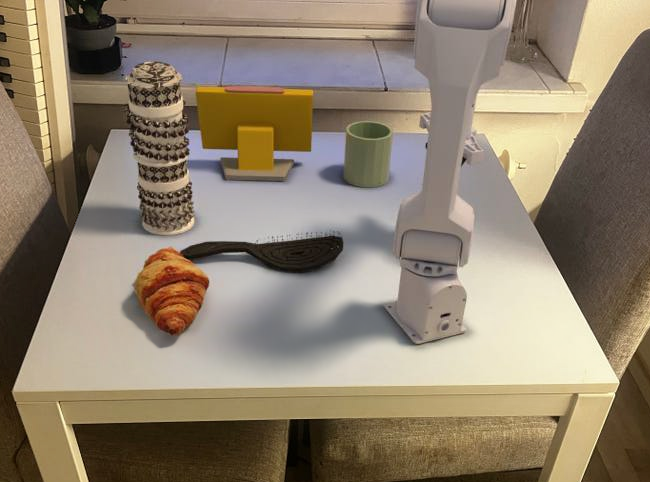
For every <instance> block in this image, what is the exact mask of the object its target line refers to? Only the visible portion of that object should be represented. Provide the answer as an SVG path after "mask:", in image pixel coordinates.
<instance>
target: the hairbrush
mask: <svg viewBox="0 0 650 482" xmlns="http://www.w3.org/2000/svg"><path fill="white" fill-rule="evenodd" d="M331 232H332V233H333V234H331ZM335 233H337V234H338V235H336V234H335ZM300 234H301V235H303V233H302V232H301V233H297V237H300ZM308 234H309V232H306V233H305V235H306V236H305V237H306V238H299V239H291V240H284V238H283V237H284V236H283V235H280V238H282V239H281V241H279V236H278V235H277V239H275V238H274V236H271V239H273V241H271V242H269V241H266V242H262V243H258V241H259V240H258V239H257V240H256V242H249V241H235V240H234V241H233V240H231V241H229V240H228V241H227V240H217V241H216V240H215V241H212V240H211V241H202V242H199V243H195V244H191V245H189V246H187V247H185V248H183V249H181V250H180V251H179V253H181V254H182V255H183V256H184V258H185V259H187V260H189V261H194V260H198V259H204V258H208V257H212V256H217V255H222V254H235V253H237V254H238V253H240V254H241V253H245V254H247V255H248V256H250V257H252V258H254V259H255V260H257V261H258V262H260V263H261V264H263V265H265V266H267V267H269V268H270V269H274V270H277V271H281V272H285V273H305V272H309V271H315V270H319V269H321V268H322V267H324V266H326V265H328V264H330V263H332V262H334V261H335V260H336V259H337V258H338V257H339V256H340V255H341V254H342V252H343V251H344V248H345V247H344V246H345V243H344V239H343V236H342V235H341V232H340V231H338V230H337V231H334V230H331V229H330V230H329V235H328V233H324V236H323V235H322V234H323V232H322V231H321V232H320V234H321V235H320V236H318V235H317V234H318V232H317V231H316V232H315V237H313V235H312V234H313V232H310V234H311V235H310V237H309V235H308ZM288 236H289V237H291V235H290V234H289V235H288V234H287V235H286V237H288ZM308 237H309V238H308ZM267 239H270V237H269V236H267ZM275 240H276V241H275Z"/></svg>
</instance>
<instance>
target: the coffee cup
mask: <svg viewBox="0 0 650 482" xmlns="http://www.w3.org/2000/svg"><path fill="white" fill-rule="evenodd" d="M393 137H394V131H393V128H392V127H391V126H389V125H387V124H385V123H383V122H379V121H373V120H362V121H361V120H360V121H355V122H353V123H349V124H348V125H347V126H346V128H345V140H344V156H343V179H344V181H345V182H347V183H348V184H350V185H352V186H355V187H359V188H378V187H381V186H383V185H385V184H386V183H387V182H388V180H389V177H390V168H391V167H390V166H391V158H392V157H391V156H392V147H393V146H392V145H393V139H394V138H393Z"/></svg>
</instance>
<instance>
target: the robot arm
mask: <svg viewBox="0 0 650 482" xmlns="http://www.w3.org/2000/svg"><path fill="white" fill-rule="evenodd" d="M516 7H517V0H417V5H416V12H415V24H414V41H413V54H412V56H413V58H414V69H415V70H417V71H418V72H419V73H420V74H421V75H422V76H424V77H425V78H426V79H427V80H428V87H429V95H430V103H431V104H430V105H431V110H430V112H427V113H421V114H420V117H419V123H418V126H419V128H421V129H422V130H425V129H426V131H427V134H428V136H427V142H425V147H424V148H425V150H426V153H425V160H424V161H425V162H424V170H423V178H422V179H423V180H422V187H421V190H420V191H418V192H416V193H415V194H412V195H410V196H407V197H405V198H404V199H403V200H402V203H401V204H400V205H399V208H398V211H397V212H398V213H397V217H396V222H395V227H394V235H393V241H392V254H393V256H394V258H395V259H397V260H400V263H399V267H400V274H399V275H400V276H399V285H398V292H397V300H396V301H390V302H387V303H385V304H384V307H383V308H384V309H385V310H386V311H387V312H388V314H389V315H390V316H391V317H392V318H393V319H394V321H395V322H396V323H397V325H399V327H400V328H401V329H402V330H403V332H404V333H405V334H406V335H407V336H408V337H409V339H410V340H411V341H412V342H413V343H414V344H417V345H420V344H424V343H427V342H431V341H436V340H440V339H444V338H447V337H452V336H455V335H459V334H463V333H466V331H467V328H466V327H465V326H464V324H463V320H464V315H465V309H466V304H467V299H468V294H467V290H466V288H465V287H464V286H463V284H462V283H461V281H460V279H459V275H458V268H464V266H467V264H468V263H469V258H470V252H471V246H472V241H473V234H474V226H475V224H474V223H475V217H476V216H475V213H474V208H473V207H472V206H471V205H470V204H469V203H468V202H466V201H465V200H464V199H463V198H461V197H460V196H459V195H458V187H459V181H460V175H461V169H462V167H463V165H464V164H465V163H466V164H467V165H469V166H473V165H478V164H482V163H483V158H484V152H485V150H484V149H482V147H480V145H479V144H478V142H477V140H476V137H475V136H476V135H477V129H476V128H475V127H473V122H474V116H475V111H476V110H475V108H476V104H477V98H478V93H479V91H480V89H481V86H483V85H485V84H486V83H489V82H490V81H493V80H494V79H497V78H498V77H500V73H501V68H502V67H503V66H504V64H505V60H506V56H507V50H508V45H509V43H510V39H511V35H512V29H513V25H514V19H515V13H516Z"/></svg>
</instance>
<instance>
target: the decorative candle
mask: <svg viewBox="0 0 650 482" xmlns="http://www.w3.org/2000/svg"><path fill="white" fill-rule="evenodd" d="M124 80H125V82H127V84H126V85H127V91H128V103H126V104H125V105H124V108H125V109H124V114H126V119H125V123H126V124H128V126H129V128H128V130H129V132H128V137H130V142H129V144H130V146H131V147H132V151H133V159H134V160H135V161H136V162H137V170H138V171H137V178H138V179H137V180H138V181H137V186H136V189H137V190H138V197H137V198H138V199H139V200H140V201H139V211H140V218H141V220H142V222H141V223H142V224H141V225H142V227H143V228H144V230H145V231H147V232H148V233H150V234H153V235H158V236H176V235H179V234H180V235H181V234H183V233H186V232H187V231H189V230H191V229H192V228H193V227H194V225H195V215H194V213H195V210H194V206H193V205H194V203H195V202H194V201H193V200H192V198H193V192H194V191H193V190H192V185H193V182H192V181H191V180H190V171H189V169H188V161H187V159H188V158H189V157H190V153H191V152H190V151H191V149H190V148H189V147H188V146H190V139H189V138H188V137H187V136H186V135H187V134H188V133H189V132H190V127H189V125H187V123H189V116H188V114H186V113H185V112H183V110H184V106H186V100H184V98H183V97H184V96H183V95H182V91H181V90H182V85H181V81H182V80H183V75H182V74H181V73H180V72H178V71H176V69H175V68H174V67H173V66H172V65H171V64H169V63H167V62H163V61H144V62H140V63H138V64H136V65H134V67H132V69H131V71H130V72H129V74H127V75H125V78H124Z"/></svg>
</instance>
